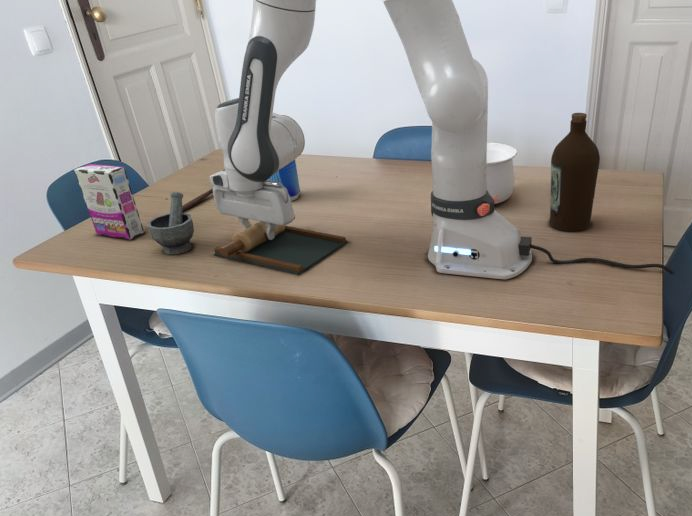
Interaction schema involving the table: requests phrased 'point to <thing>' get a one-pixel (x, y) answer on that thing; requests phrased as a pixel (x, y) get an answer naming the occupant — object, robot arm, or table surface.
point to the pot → (500, 170)
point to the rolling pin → (249, 239)
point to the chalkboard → (290, 250)
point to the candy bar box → (110, 201)
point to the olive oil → (573, 178)
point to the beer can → (288, 179)
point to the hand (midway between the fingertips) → (260, 236)
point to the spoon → (196, 200)
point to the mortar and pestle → (173, 227)
